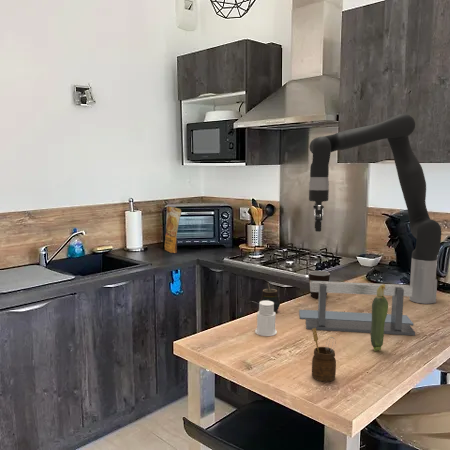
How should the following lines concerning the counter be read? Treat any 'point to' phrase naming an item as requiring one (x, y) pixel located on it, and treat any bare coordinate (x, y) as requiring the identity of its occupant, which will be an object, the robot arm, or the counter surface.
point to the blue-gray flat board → (348, 316)
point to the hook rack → (360, 326)
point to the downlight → (266, 319)
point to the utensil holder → (323, 362)
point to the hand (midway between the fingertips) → (317, 229)
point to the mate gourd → (271, 297)
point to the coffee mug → (318, 277)
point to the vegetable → (378, 318)
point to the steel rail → (359, 288)
